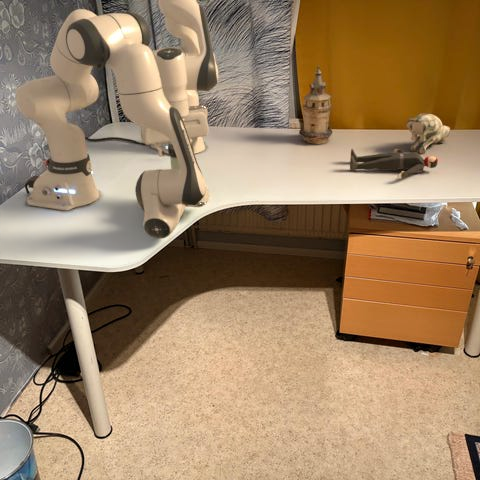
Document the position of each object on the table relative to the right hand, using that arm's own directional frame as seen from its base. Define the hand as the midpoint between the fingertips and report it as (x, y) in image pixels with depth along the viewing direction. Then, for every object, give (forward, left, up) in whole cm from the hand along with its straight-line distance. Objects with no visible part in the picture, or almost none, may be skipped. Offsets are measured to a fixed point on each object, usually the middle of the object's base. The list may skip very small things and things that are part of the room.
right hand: (176, 153), depth 162 cm
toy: (+46, +63, -16) cm, 79 cm away
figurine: (+49, +92, -16) cm, 105 cm away
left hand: (0, +1, -11) cm, 11 cm away
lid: (0, 0, +2) cm, 2 cm away
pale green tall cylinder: (0, 0, -16) cm, 16 cm away
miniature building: (+8, +76, -16) cm, 78 cm away
